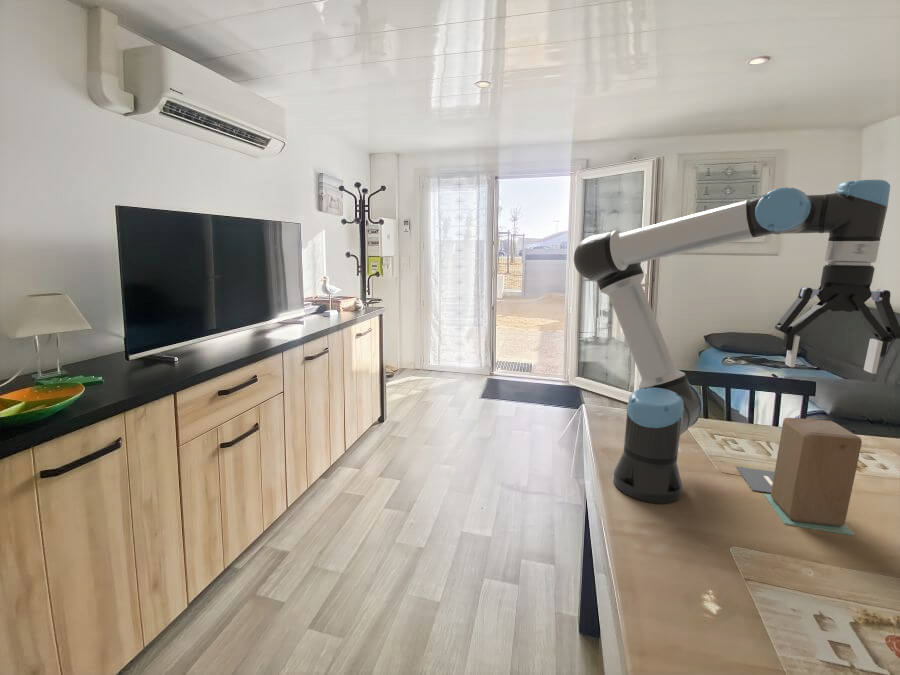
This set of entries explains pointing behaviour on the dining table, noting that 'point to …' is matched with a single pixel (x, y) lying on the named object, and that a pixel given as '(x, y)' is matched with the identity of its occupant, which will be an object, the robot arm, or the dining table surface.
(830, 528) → the pad
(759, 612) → the dining table surface
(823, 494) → the wooden block
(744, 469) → the mat
